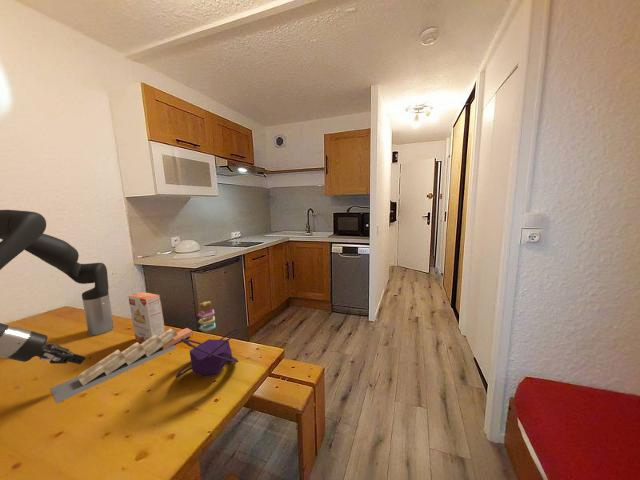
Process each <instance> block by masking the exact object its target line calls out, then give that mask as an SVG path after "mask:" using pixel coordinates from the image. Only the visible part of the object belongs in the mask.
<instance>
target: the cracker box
mask: <svg viewBox="0 0 640 480" xmlns="http://www.w3.org/2000/svg"><path fill="white" fill-rule="evenodd" d="M127 297H128V303H129V309H130V313H131V314H130V315H131V320H132V321H131V322H132V326H133V327H132V328H133V331H134V332H133V333H134V338H135V342H138V343H140V344H142V343H143V342H145V341H146V340H148V339H149V338H151V337H152V336H154V335H156V336H157V337H159V336H160V335H162V334H163V333H165V332H166V328H165V322H164V315H163V308H162V301H161V295H160V294H156V293H155V294H154V293H150V292H145V291H140V292H138V293H133V294H129V295H128V296H127Z"/></svg>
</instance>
